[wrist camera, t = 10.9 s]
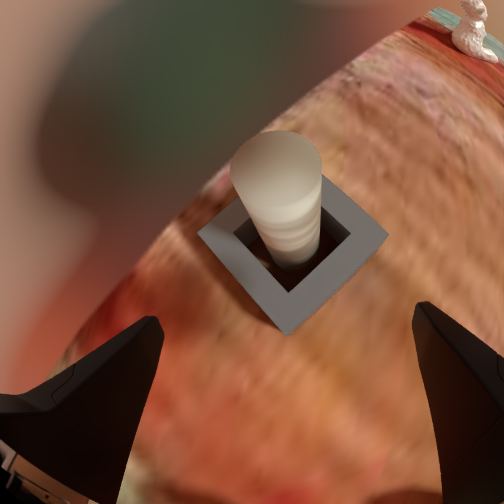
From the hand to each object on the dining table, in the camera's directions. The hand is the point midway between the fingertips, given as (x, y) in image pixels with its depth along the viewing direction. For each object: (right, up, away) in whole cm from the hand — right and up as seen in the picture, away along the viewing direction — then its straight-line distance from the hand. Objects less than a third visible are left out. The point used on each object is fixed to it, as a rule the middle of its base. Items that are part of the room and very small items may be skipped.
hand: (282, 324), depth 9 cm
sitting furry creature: (+36, +37, +18) cm, 55 cm away
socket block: (+3, +3, +15) cm, 15 cm away
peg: (+3, +2, +15) cm, 15 cm away
